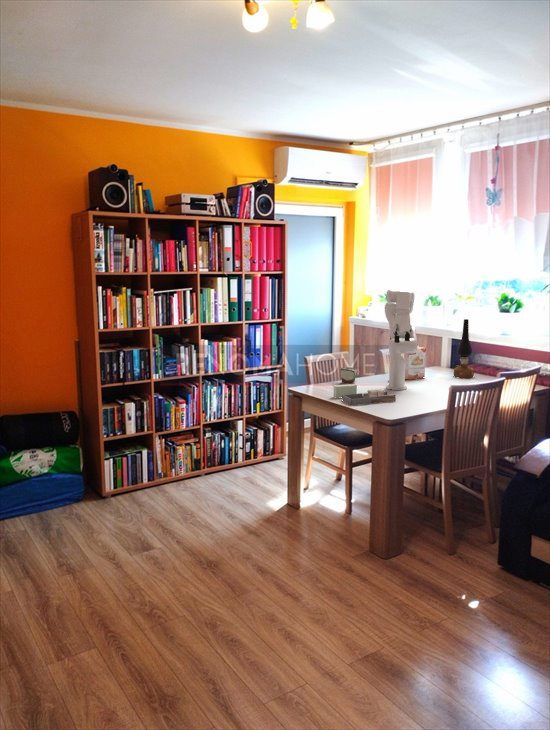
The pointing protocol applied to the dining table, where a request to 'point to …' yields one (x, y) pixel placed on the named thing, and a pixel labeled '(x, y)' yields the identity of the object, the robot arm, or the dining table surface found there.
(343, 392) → the bar
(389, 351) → the robot arm
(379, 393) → the chip
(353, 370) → the food container
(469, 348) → the oil lamp
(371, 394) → the chip
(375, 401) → the groove board
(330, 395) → the dining table surface
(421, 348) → the cracker box
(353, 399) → the tray
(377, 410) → the dining table surface
